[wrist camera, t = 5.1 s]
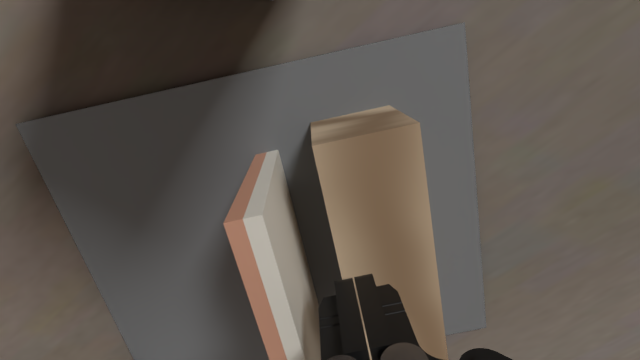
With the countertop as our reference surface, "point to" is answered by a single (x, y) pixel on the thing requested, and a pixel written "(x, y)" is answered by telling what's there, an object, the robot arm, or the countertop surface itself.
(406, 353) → the robot arm
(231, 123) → the mat
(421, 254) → the block
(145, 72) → the countertop surface
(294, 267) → the tile
